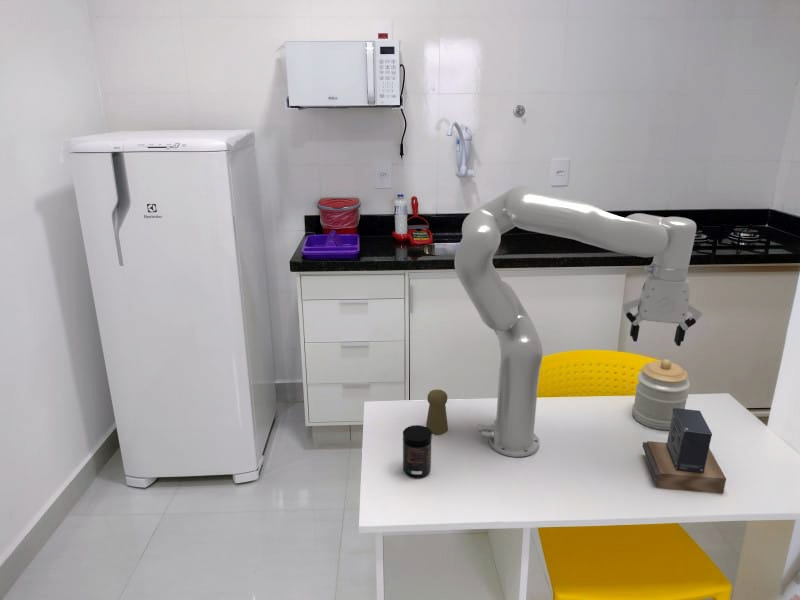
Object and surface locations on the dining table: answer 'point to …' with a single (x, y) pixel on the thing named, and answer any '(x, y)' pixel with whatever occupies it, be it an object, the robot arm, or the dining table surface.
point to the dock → (680, 479)
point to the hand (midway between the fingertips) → (655, 341)
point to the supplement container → (417, 451)
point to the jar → (660, 393)
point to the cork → (437, 412)
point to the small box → (688, 440)
